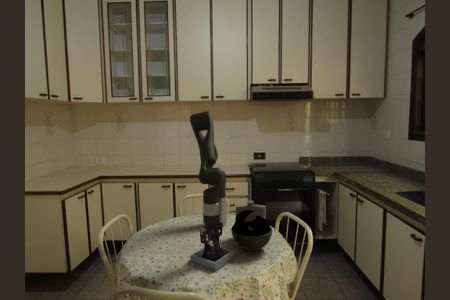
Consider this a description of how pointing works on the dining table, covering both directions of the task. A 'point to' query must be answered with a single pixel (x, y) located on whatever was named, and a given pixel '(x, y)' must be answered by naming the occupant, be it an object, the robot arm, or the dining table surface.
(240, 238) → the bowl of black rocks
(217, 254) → the phone stand
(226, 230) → the dining table surface
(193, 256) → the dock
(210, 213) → the robot arm
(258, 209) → the hip flask
